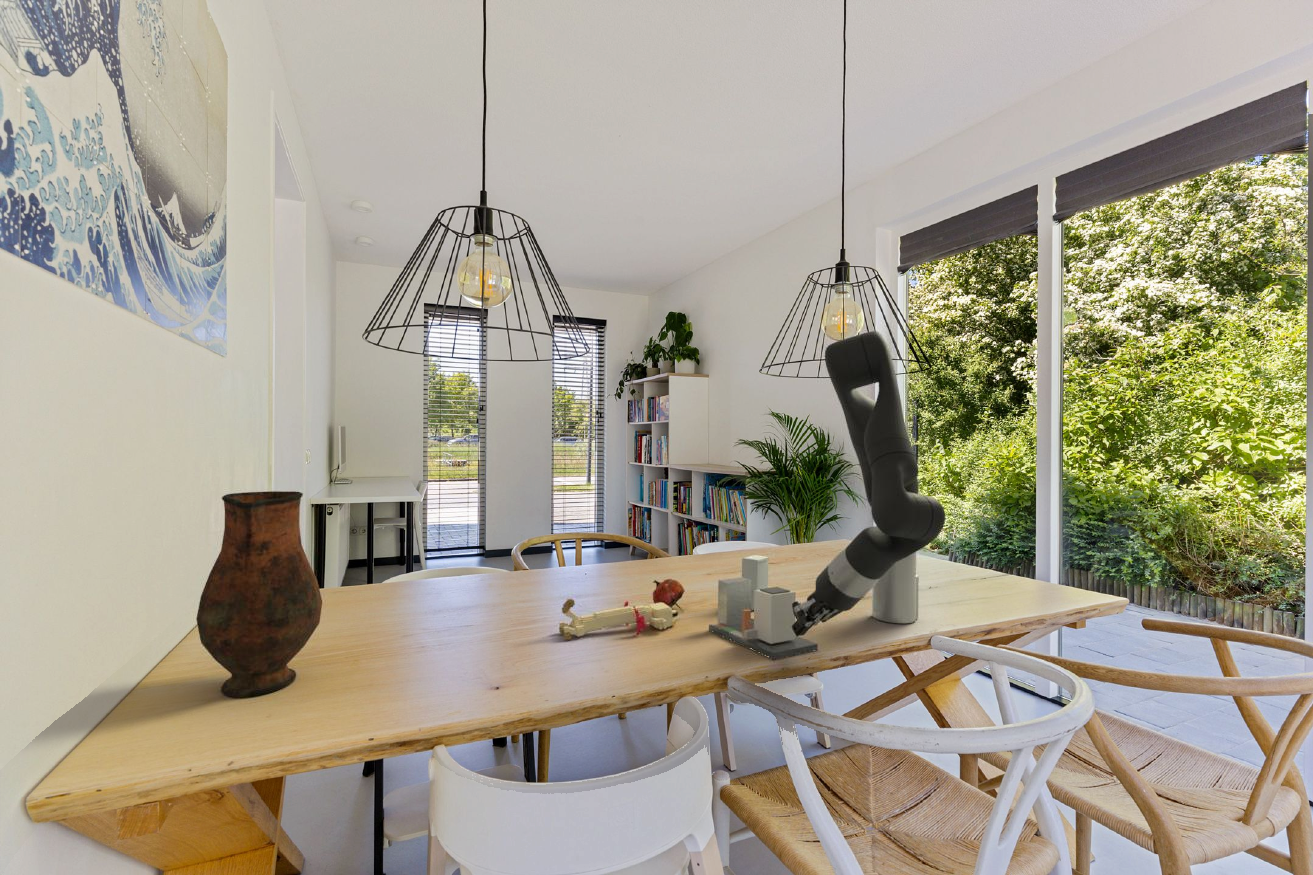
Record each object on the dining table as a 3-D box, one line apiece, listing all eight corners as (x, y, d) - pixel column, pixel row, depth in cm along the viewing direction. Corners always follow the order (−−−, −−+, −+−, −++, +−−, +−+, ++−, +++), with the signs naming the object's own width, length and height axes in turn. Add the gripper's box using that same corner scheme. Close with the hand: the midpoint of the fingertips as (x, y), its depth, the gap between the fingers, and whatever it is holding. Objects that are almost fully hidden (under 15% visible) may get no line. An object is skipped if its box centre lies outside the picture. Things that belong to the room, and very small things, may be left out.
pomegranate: (686, 616, 148) (660, 586, 153) (700, 596, 145) (672, 565, 150) (666, 626, 143) (639, 594, 148) (679, 605, 139) (651, 573, 144)
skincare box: (756, 611, 145) (757, 560, 145) (740, 608, 148) (741, 557, 148) (768, 606, 150) (769, 556, 150) (753, 603, 153) (753, 554, 153)
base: (750, 623, 136) (750, 576, 136) (817, 650, 118) (818, 596, 118) (708, 630, 130) (709, 581, 130) (773, 659, 113) (773, 602, 113)
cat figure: (569, 652, 120) (687, 628, 129) (566, 607, 120) (685, 586, 129) (557, 637, 129) (668, 616, 138) (554, 595, 129) (666, 577, 138)
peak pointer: (747, 634, 122) (748, 609, 122) (750, 636, 121) (750, 610, 121) (742, 635, 121) (742, 610, 121) (744, 637, 121) (745, 611, 121)
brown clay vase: (171, 711, 88) (176, 498, 88) (232, 660, 109) (236, 487, 109) (302, 700, 92) (306, 497, 92) (337, 653, 113) (340, 487, 113)
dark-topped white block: (777, 632, 124) (777, 585, 124) (795, 639, 120) (795, 590, 120) (743, 638, 120) (744, 590, 120) (760, 645, 116) (761, 595, 116)
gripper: (863, 556, 111) (812, 609, 121) (808, 562, 104) (759, 618, 114) (888, 592, 106) (832, 644, 117) (832, 601, 99) (779, 655, 110)
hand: (796, 631), depth 116 cm, fingers closed
